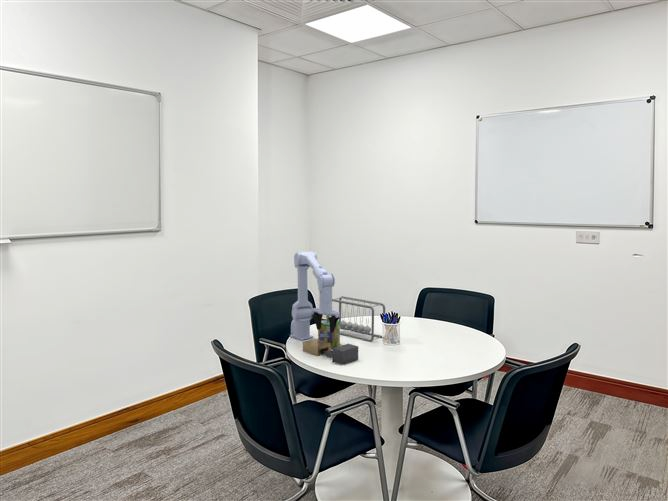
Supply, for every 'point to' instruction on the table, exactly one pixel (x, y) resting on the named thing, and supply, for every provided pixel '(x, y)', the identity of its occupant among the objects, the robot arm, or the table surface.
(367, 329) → the newton's cradle
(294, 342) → the table surface
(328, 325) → the green multicoloured upright block
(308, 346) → the brown open box
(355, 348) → the dark grey rectangular block
